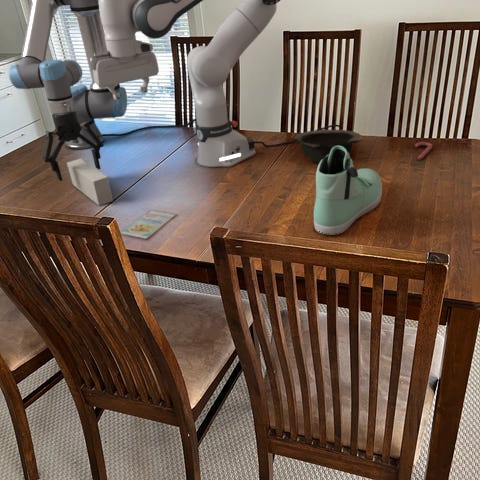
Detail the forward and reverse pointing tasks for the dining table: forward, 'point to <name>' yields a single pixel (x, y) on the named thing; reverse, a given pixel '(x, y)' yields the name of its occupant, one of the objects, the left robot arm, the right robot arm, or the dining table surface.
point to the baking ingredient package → (147, 224)
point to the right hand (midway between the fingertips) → (131, 95)
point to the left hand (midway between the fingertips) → (79, 173)
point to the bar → (90, 181)
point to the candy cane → (425, 149)
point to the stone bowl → (325, 142)
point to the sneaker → (343, 192)
